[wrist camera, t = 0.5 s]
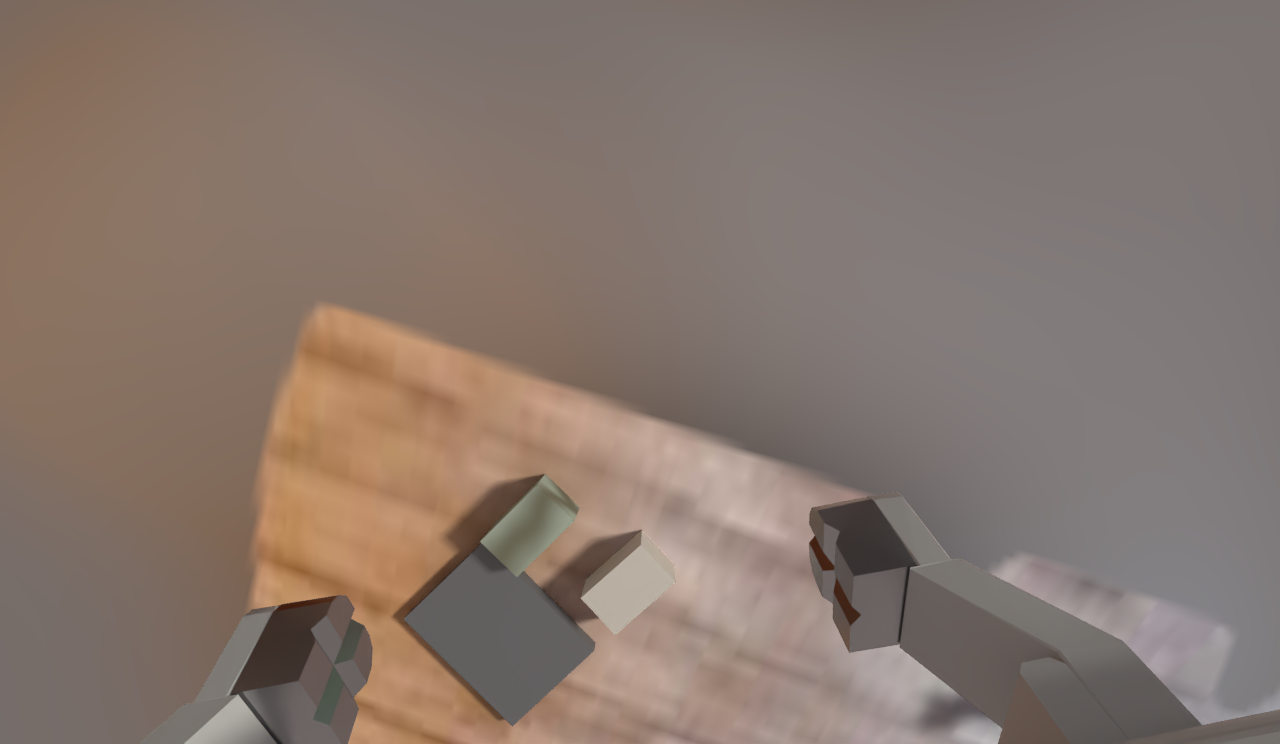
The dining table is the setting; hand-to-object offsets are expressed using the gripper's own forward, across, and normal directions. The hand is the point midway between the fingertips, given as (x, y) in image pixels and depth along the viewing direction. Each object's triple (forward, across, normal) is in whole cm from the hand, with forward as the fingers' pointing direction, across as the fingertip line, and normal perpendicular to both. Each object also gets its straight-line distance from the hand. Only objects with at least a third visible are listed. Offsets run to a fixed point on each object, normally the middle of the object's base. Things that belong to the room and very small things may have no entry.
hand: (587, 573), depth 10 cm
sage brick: (+40, -10, -34) cm, 53 cm away
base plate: (+36, -16, -44) cm, 59 cm away
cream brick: (+36, -2, -40) cm, 54 cm away
